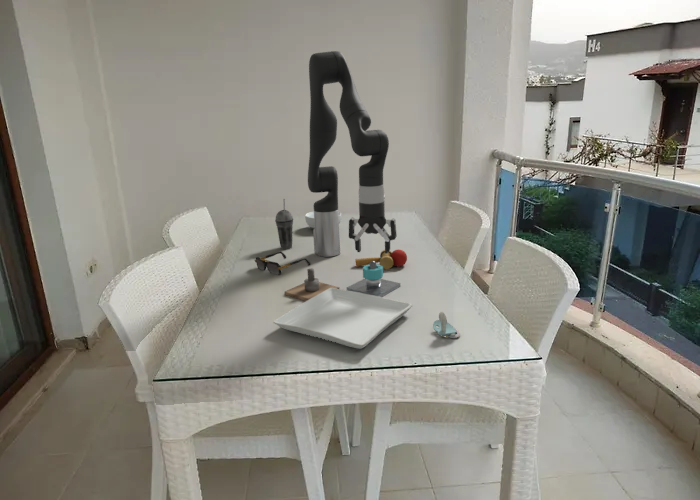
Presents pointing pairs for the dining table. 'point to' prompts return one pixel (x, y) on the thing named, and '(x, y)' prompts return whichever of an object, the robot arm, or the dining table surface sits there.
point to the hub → (374, 285)
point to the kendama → (385, 259)
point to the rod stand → (308, 288)
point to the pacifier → (445, 327)
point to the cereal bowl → (310, 219)
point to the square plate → (344, 316)
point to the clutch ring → (372, 272)
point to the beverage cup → (284, 228)
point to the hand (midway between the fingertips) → (372, 252)
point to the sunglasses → (274, 263)
